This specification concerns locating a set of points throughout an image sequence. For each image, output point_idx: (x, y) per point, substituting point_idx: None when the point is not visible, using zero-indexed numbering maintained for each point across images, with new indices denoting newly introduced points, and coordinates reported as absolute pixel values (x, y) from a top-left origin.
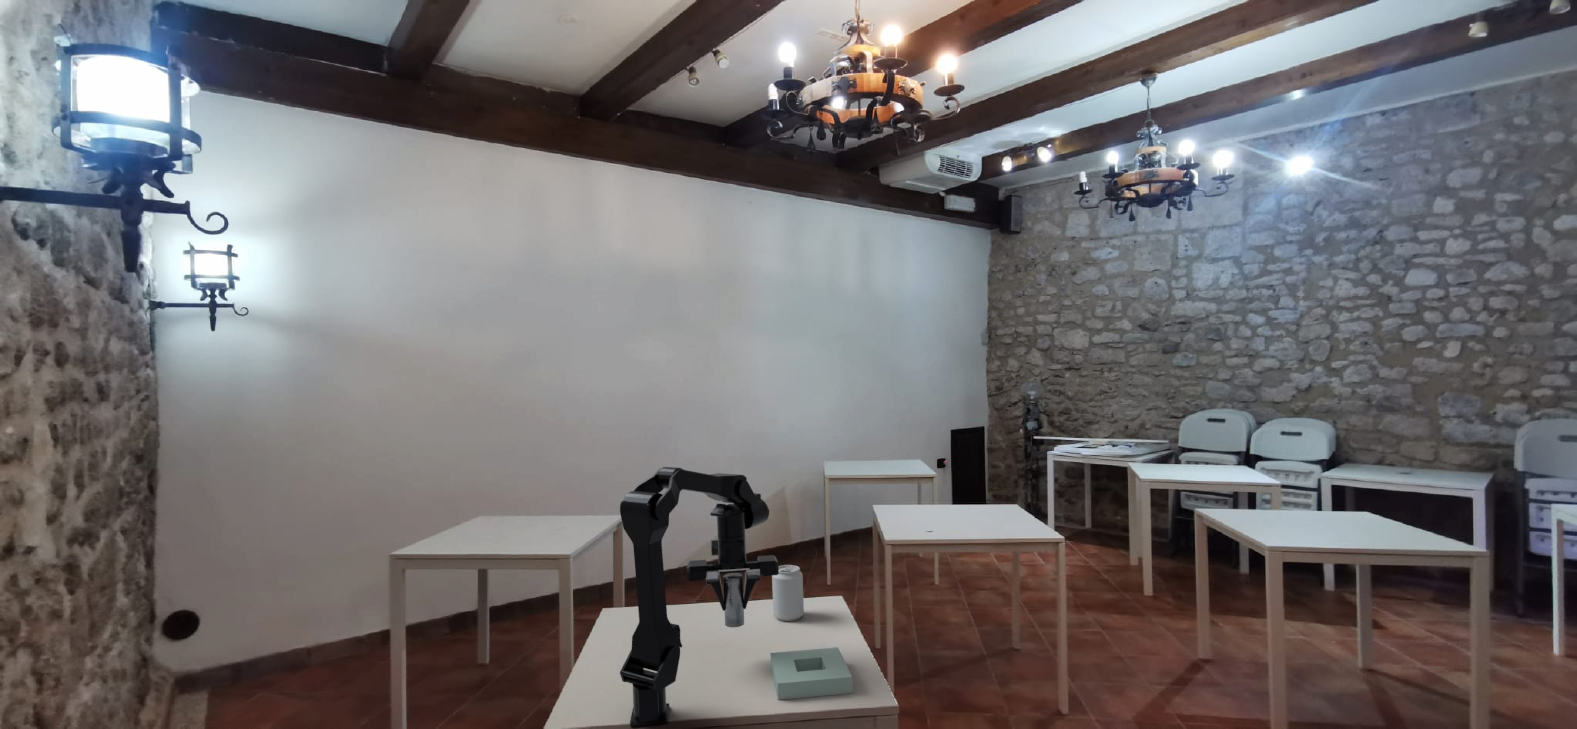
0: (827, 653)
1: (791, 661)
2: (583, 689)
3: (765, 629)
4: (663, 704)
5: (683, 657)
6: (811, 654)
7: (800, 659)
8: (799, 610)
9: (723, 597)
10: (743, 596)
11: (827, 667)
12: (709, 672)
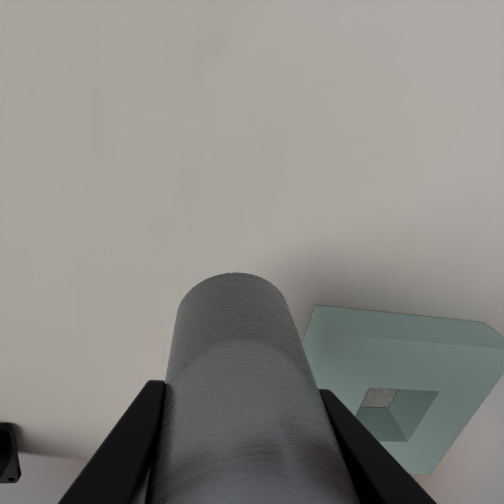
0: (468, 375)
1: (358, 395)
2: None
3: None
4: None
5: (6, 109)
6: (429, 370)
7: (386, 387)
8: None
9: (137, 501)
10: (355, 463)
11: (415, 435)
12: (124, 280)
